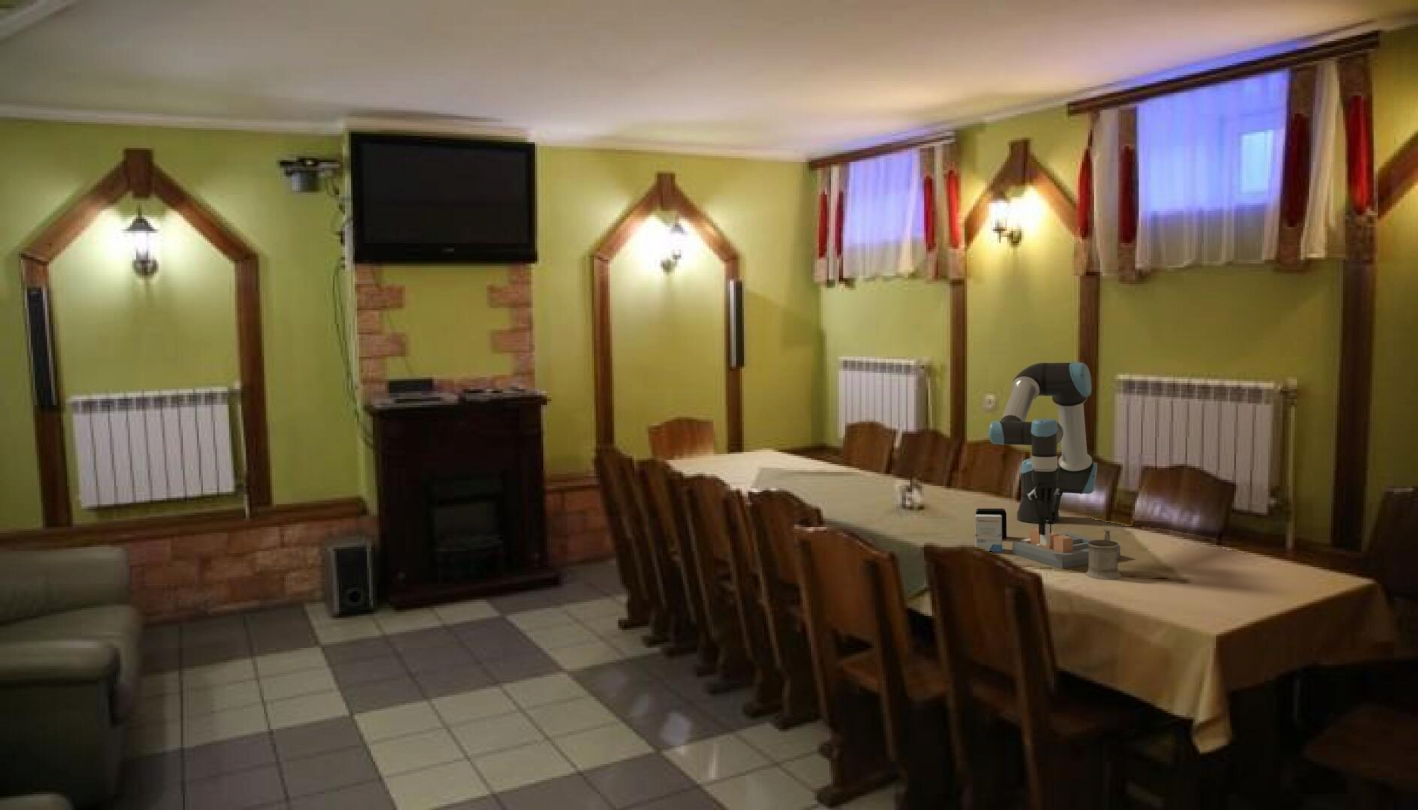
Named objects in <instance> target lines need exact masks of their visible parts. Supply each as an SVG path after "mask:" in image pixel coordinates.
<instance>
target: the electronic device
mask: <svg viewBox="0 0 1418 810" xmlns="http://www.w3.org/2000/svg"><path fill="white" fill-rule="evenodd" d="M976 514H981V515H1002V540H1005V539H1007V537H1008V536H1007V535H1008V534H1007V532H1008V531H1007V530H1008V529H1007V512H1006V509H1005V508H991V507H989V508H984V507H983V508H981V507H980V508H976V509H975V515H976Z"/></svg>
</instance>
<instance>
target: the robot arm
mask: <svg viewBox="0 0 1418 810" xmlns="http://www.w3.org/2000/svg"><path fill="white" fill-rule="evenodd" d="M1092 385H1093V384H1092V376H1091V371H1090V370H1089V367H1088V365H1087V364H1085V363H1084V362H1075V361H1071V362H1038V363H1034V364H1030V365H1029V366H1027V367H1026V368H1024V369H1022V370H1021V371H1020V372H1019V373H1017V375H1015V377H1014V379H1013V380H1012V382H1011V385H1010V392H1011V393H1010V395H1009V398H1008V401H1007V402H1006V405H1005V408H1004V411H1003V413H1002V416H1001V418H1000V420H993V421H991V422H990V424H989V429H988V437H989V442H990V443H991V444H993V445H1002V446H1004V445H1007V446H1031V457H1030V458H1026V459H1024V460H1023V461H1022V462H1021V465H1020V466H1021V467H1020V468H1021V469H1020V470H1021V471H1020V482H1021V483H1020V486H1021V487H1020V488H1021V490H1020V491H1021V498H1020V503H1019V507H1018V509H1017V511H1016V520H1018V521H1019V522H1024V523H1030V524H1031V523H1032V524H1038V525H1037V526H1038V528H1039V534H1040V544H1041V545H1045V546H1049V545H1050V534H1051V532H1052V525H1054V524H1055V522H1058V521H1060V513H1059V509H1060V504H1061V499H1062V496H1063V494H1079V495H1083V494H1084V495H1086V494H1087V495H1089V494H1090V495H1091V494H1093V492H1094V491H1095V486H1096V480H1097V472H1098V462H1095V461H1093V459H1092V458H1093V457H1092V456H1091V455H1090V454H1088V446H1087V435H1086V434H1087V433H1086V423H1085V422H1086V421H1085V411H1084V410H1085V408H1084V403H1085V402H1086V401H1087V399H1088V397H1090V396H1091V394H1092ZM1038 397H1051V401H1052V402H1053V403H1054V404H1055V405H1056V406H1057V416H1058V422H1057V419H1054V418H1045V417H1044V418H1035V419H1033V420H1032V421H1026V420H1027V419H1028V416H1029V413H1030V410H1031V408H1032V404H1033V401H1035V400H1036V399H1037V398H1038ZM1059 443H1060V446H1061V447H1060V448H1061V456H1060V457H1059V458H1058V444H1059Z"/></svg>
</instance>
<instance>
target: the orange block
mask: <svg viewBox="0 0 1418 810" xmlns="http://www.w3.org/2000/svg"><path fill="white" fill-rule="evenodd" d="M1054 551H1058V552H1062V553H1066V552H1072V551H1073V538H1072V537H1069V536H1065V535H1061V536H1055V537H1054Z"/></svg>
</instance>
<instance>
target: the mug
mask: <svg viewBox="0 0 1418 810" xmlns="http://www.w3.org/2000/svg"><path fill="white" fill-rule="evenodd" d="M1103 532H1105V534H1104V539H1097V540H1092V541H1089V542H1088V549H1089V564H1088V568H1087V571H1086V572H1085V576H1086V577H1088V578H1090V579H1096V580H1103V581H1104V580H1105V581H1106V580H1118V579H1120V578H1121V577H1122V575H1121V573H1120V572H1119V569H1118V567H1119V561H1118V559H1119V558H1118V546H1119V545H1120V544H1119V543H1118V542H1117V541H1114V540H1111V534H1110V532H1111V530H1108V529H1107V530H1103Z"/></svg>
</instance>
